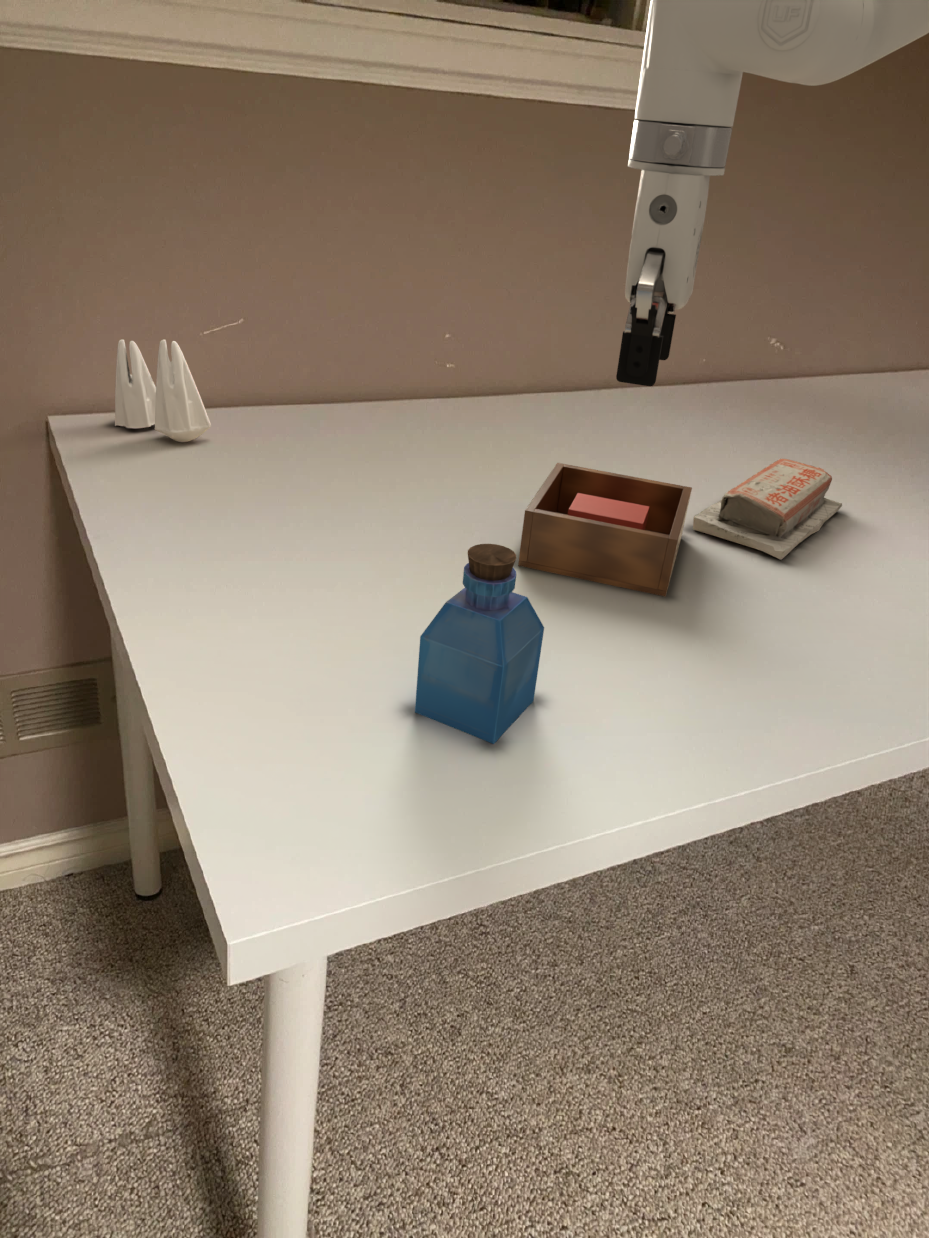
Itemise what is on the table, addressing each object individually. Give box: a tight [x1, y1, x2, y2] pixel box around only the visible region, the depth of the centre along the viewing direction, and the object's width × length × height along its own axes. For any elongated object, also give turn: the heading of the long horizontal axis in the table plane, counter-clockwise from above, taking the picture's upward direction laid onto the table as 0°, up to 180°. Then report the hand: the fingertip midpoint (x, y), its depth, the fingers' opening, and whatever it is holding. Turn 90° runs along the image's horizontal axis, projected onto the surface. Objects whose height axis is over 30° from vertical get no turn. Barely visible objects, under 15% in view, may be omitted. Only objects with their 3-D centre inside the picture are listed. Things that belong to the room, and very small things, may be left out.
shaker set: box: [114, 338, 212, 443], centre depth 106 cm, size 12×4×11 cm, turn 59°
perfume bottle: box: [414, 543, 545, 745], centre depth 64 cm, size 6×6×12 cm
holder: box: [517, 462, 693, 597], centre depth 90 cm, size 14×14×6 cm
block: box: [568, 493, 649, 530], centre depth 90 cm, size 7×4×4 cm, turn 73°
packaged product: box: [692, 458, 843, 561], centre depth 100 cm, size 18×5×10 cm
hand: (643, 370), depth 82 cm, fingers open, 9 cm apart
